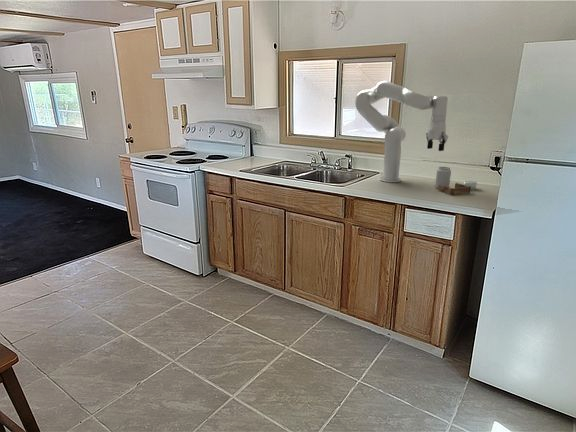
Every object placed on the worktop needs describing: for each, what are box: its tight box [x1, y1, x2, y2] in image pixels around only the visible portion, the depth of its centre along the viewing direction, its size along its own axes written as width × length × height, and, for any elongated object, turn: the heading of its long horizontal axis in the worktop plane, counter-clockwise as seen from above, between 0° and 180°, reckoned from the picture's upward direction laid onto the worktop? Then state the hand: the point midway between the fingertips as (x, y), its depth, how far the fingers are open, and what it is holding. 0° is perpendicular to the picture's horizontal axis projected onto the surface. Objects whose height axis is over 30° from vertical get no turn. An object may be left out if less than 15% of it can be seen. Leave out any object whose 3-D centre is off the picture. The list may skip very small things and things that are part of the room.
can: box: [434, 166, 452, 190], centre depth 221 cm, size 8×8×12 cm
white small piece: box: [462, 180, 478, 191], centre depth 221 cm, size 7×7×4 cm
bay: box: [438, 182, 472, 196], centre depth 214 cm, size 10×12×4 cm
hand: (435, 149), depth 224 cm, fingers open, 9 cm apart
